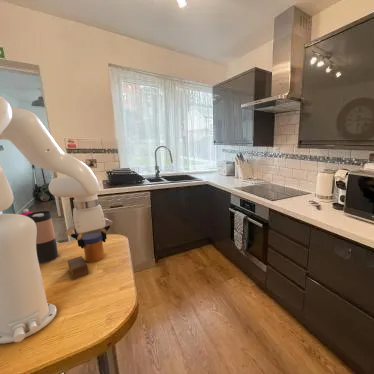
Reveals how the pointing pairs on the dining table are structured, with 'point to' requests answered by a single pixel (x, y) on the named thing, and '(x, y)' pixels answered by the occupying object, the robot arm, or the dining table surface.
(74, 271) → the stand
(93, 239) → the jar lid
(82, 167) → the robot arm
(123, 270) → the dining table surface
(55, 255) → the travel mug
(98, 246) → the jam jar
